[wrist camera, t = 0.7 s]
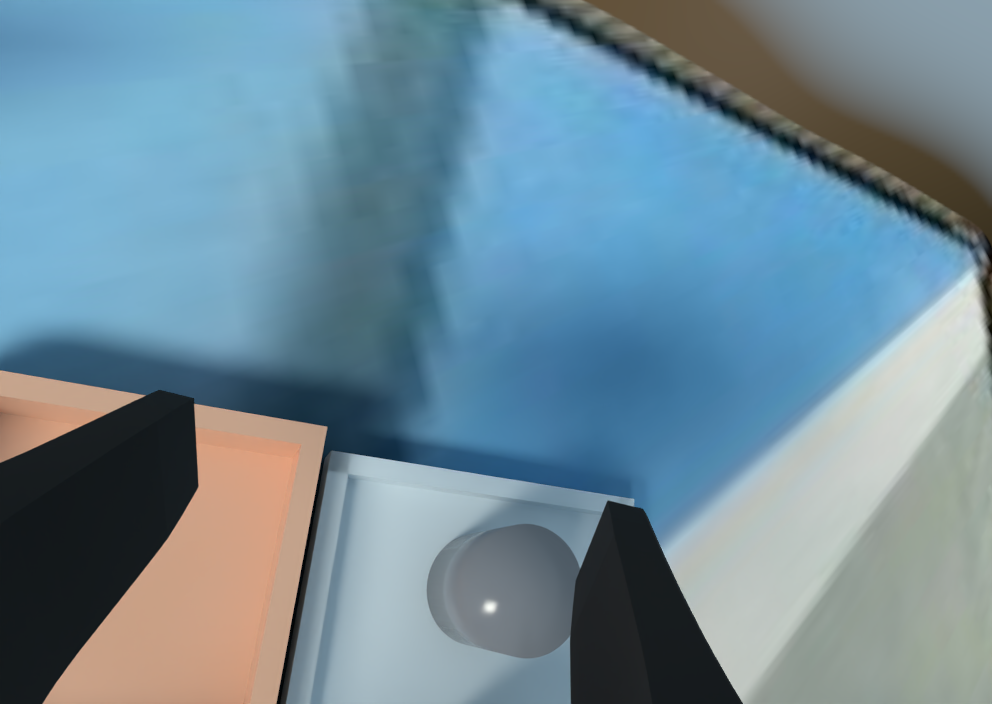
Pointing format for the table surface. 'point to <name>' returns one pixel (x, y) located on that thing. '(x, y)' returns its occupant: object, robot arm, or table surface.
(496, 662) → the parts tray
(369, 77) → the table surface
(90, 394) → the terracotta dish
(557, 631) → the grey plastic cylinder
